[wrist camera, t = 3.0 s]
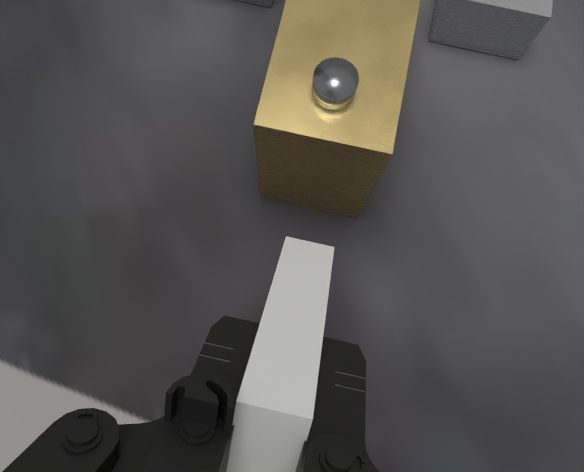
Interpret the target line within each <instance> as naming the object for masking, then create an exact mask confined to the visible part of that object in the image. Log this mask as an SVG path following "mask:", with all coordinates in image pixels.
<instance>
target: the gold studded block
mask: <svg viewBox="0 0 584 472" xmlns="http://www.w3.org/2000/svg"><path fill="white" fill-rule="evenodd" d="M419 4H420V0H286V3H285V7H284V10H283V14H282V18H281V22H280V26H279V29H278V33H277V37H276V41H275V45H274V48H273V52H272V56H271V60H270V64H269V67H268V71H267V75H266V79H265V83H264V86H263V90H262V94H261V98H260V102H259V105H258V109H257V113H256V117H255V121H254V135H255V146H256V156H257V167H258V178H259V188H260V197H262V198H267V199H271V200H276V201H280V202H285V203H290V204H294V205H299V206H303V207H308V208H312V209H317V210H322V211H326V212H331V213H335V214H340V215H344V216H349V217H354V218H358V216H359V214H360V212H361V211H362V209H363V207H364V205H365V203H366V201H367V200H368V198H369V196H370V194H371V192H372V190H373V189H374V187H375V185H376V183H377V181H378V179H379V178H380V176H381V174H382V172H383V170H384V168H385V166H386V165H387V163H388V161H389V159H390V157H391V155H392V153H393V147H394V142H395V136H396V131H397V125H398V120H399V114H400V109H401V103H402V98H403V92H404V87H405V81H406V76H407V70H408V65H409V59H410V54H411V48H412V43H413V37H414V32H415V26H416V21H417V15H418V10H419Z"/></svg>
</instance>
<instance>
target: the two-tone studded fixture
mask: <svg viewBox="0 0 584 472" xmlns="http://www.w3.org/2000/svg"><path fill="white" fill-rule="evenodd" d="M237 1H242V2H247V3H251V4H256V5H261V6H266V7H270V8H271V6H272V2H273V0H237ZM552 4H553V0H436V4H435V9H434V15H433V21H432V26H431V32H430V38H429V41H431V42H436V43H440V44H445V45H450V46H454V47H459V48H464V49H469V50H473V51H478V52H483V53H487V54H492V55H497V56H502V57H506V58H511V59H516V60H518V59H519V58H520V56H521V55H522V54H523V53H524V51H525V50H526V49H527V47H528V46H529V45H530V44H531V42H532V41H533V40H534V39H535V37H536V36H537V35H538V33H539V32H540V31H541V30H542V28H543V27H544V26H545V25H546V23H547V22H548V21H549V19H550V18H551V13H552Z"/></svg>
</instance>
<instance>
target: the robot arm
mask: <svg viewBox="0 0 584 472" xmlns="http://www.w3.org/2000/svg"><path fill="white" fill-rule="evenodd" d="M333 254H334V247H331V246H327V245H322V244H318V243H313V242H309V241H304V240H300V239H295V238H291V237H286V238H285V242H284V245H283V248H282V252H281V255H280V258H279V262H278V265H277V268H276V272H275V275H274V278H273V282H272V285H271V288H270V291H269V295H268V298H267V301H266V305H265V308H264V311H263V315H262V318H261V321H260V324H259V323H255V322H250V321H246V320H241V319H237V318H233V317H228V316H224V317H223V318H221V319H220V320H219V321H218V322H217V323H215V324H214V325H213V326H212V327H211V329H210V331H209V334H208V336H207V338H206V341H205V344H204V345H203V348H202V350H201V352H200V356H199V357H198V359H197V362H196V364H195V366H194V369H193V371H192V373H191V376H186V377H183V378H181V379H180V380H178V381H176V382H175V383H173V384H172V386H171V387H170V388H169V389H168V391H167V392H166V402H165V416H164V417H162V418H160V419H158V420H155V421H152V422H147V423H140V424H124V425H118V424H117V421H116V419H115V418H114V417H113V416H111V415H110V414H109V413H107V412H106V411H102V410H99V409H95V408H89V409H78V410H75V411H73V412H70V413H67V414H65V415H63V416H62V417H61V418H59V419H58V420H56V421H55V422H54V423H53V424H52V425H51V426H50V427H49V428H47V429H46V430H45V431H44V432H43V433H42V434H41V435H40V436H39V437H38V438H37V439H36V440H35V441H34V442H33V443H32V444H31V445H30V446H29V447H28V448H27V449H26V450H25V451H24V452H22V453H21V455H20V456H19V457H17V458H16V459H15V460H14V461H13V462H12V463H11V464H10V465H9V466H8V467H7V468H6V469H5V470H4V471H3V472H379V471H378V470H377V469H376V468H375V466H374V465H373V463H372V462H371V460H370V459H369V456H368V454H367V451H366V446H365V394H366V393H365V390H366V380H365V378H366V360H365V358H364V356H363V354H362V352H361V350H360V348H359V346H358V345H356V344H352V343H348V342H343V341H339V340H334V339H330V338H326V337H323V334H324V326H325V318H326V310H327V302H328V294H329V286H330V278H331V270H332V262H333Z"/></svg>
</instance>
